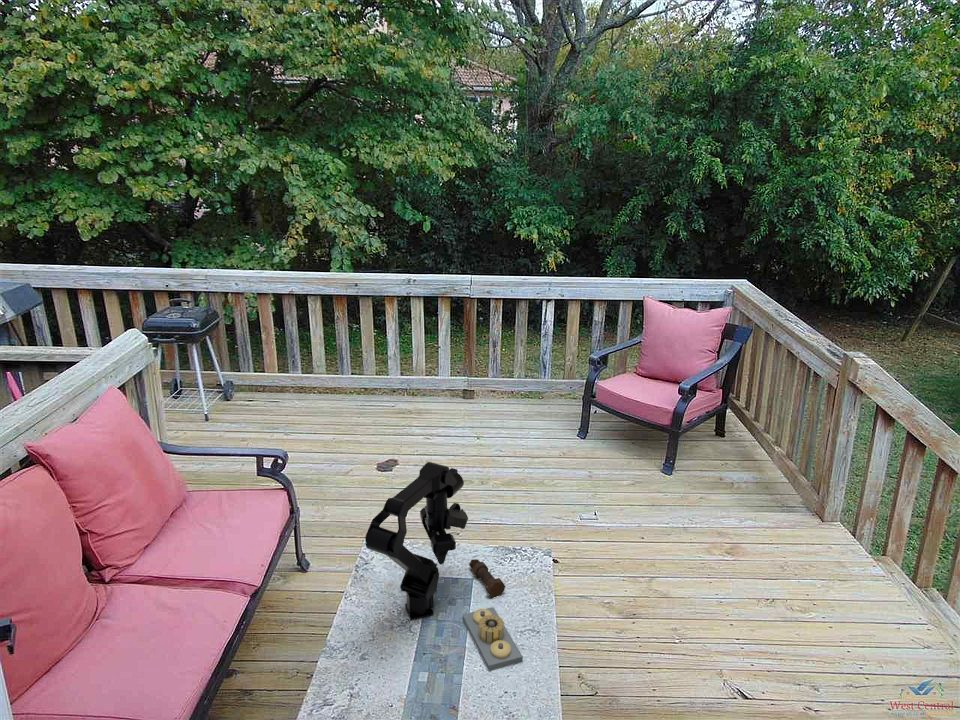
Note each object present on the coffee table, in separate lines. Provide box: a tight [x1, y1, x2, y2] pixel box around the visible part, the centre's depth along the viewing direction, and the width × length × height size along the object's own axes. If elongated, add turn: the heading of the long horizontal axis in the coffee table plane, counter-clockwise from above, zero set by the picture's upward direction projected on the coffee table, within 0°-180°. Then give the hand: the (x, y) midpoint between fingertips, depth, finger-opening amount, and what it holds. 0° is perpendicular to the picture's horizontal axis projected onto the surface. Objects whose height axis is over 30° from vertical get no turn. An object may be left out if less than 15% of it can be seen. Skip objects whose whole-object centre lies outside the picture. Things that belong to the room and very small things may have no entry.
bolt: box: [468, 558, 506, 599], centre depth 191 cm, size 6×5×15 cm
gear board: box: [461, 606, 524, 672], centre depth 168 cm, size 9×20×6 cm, turn 21°
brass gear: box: [478, 615, 505, 644], centre depth 168 cm, size 6×6×4 cm
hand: (437, 554), depth 184 cm, fingers open, 9 cm apart
